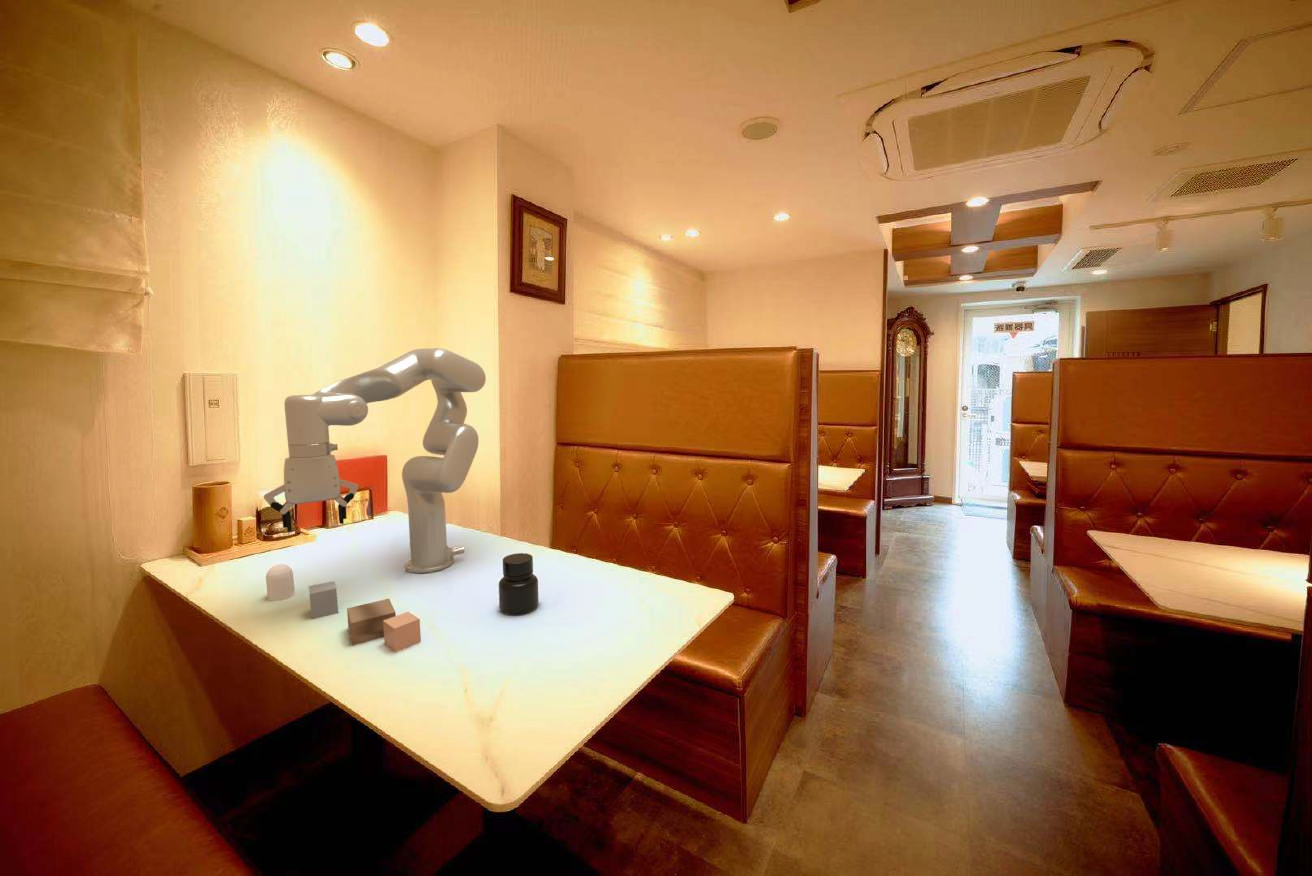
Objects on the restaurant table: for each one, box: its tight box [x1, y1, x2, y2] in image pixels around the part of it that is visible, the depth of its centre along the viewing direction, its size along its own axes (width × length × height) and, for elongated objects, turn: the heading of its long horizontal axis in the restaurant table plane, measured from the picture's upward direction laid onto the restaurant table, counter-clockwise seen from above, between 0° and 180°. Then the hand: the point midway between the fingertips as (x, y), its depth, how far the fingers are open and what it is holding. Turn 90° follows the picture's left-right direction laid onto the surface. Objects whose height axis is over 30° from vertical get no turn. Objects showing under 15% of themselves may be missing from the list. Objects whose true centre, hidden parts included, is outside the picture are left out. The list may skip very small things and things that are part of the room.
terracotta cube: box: [383, 611, 422, 653], centre depth 100 cm, size 5×5×5 cm
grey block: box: [308, 580, 339, 620], centre depth 112 cm, size 5×5×6 cm
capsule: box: [265, 563, 296, 602], centre depth 120 cm, size 5×5×8 cm
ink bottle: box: [498, 552, 540, 616], centre depth 115 cm, size 10×9×12 cm
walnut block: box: [346, 598, 397, 647], centre depth 104 cm, size 8×8×5 cm
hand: (316, 526), depth 110 cm, fingers open, 9 cm apart
